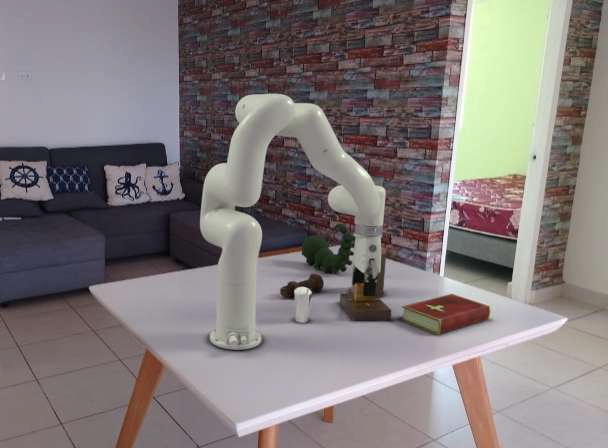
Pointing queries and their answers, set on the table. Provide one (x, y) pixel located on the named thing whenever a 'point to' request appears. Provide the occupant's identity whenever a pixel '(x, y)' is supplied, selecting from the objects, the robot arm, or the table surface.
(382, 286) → the pillar candle
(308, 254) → the toy figurine
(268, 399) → the table surface
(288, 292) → the bolt
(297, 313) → the milkshake
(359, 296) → the thumbturn
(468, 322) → the hardcover book
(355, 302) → the lock plate
